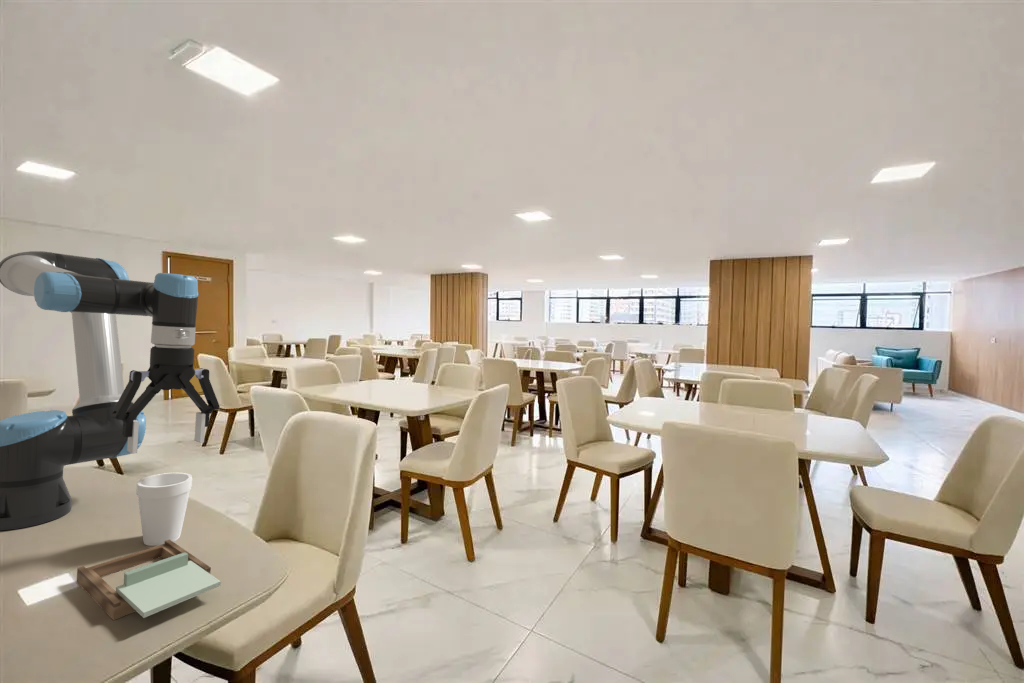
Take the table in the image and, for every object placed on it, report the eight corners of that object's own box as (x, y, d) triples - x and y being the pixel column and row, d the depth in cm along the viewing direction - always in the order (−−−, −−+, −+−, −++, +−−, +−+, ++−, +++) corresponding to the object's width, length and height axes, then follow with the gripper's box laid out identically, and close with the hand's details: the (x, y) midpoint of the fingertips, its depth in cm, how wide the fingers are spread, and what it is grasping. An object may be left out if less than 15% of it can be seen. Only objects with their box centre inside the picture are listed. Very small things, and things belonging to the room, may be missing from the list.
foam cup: (132, 536, 97) (135, 477, 96) (184, 525, 103) (187, 469, 103) (136, 554, 90) (139, 490, 90) (192, 541, 96) (195, 482, 96)
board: (76, 581, 80) (77, 567, 80) (168, 551, 92) (169, 539, 92) (113, 620, 71) (114, 604, 71) (209, 581, 83) (210, 567, 83)
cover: (115, 591, 74) (116, 575, 74) (190, 564, 84) (191, 550, 84) (143, 617, 69) (144, 600, 69) (220, 585, 78) (221, 570, 78)
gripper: (107, 347, 83) (101, 462, 84) (240, 348, 104) (234, 440, 104) (93, 344, 87) (87, 453, 88) (223, 345, 108) (218, 434, 108)
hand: (167, 446), depth 96 cm, fingers open, 11 cm apart
